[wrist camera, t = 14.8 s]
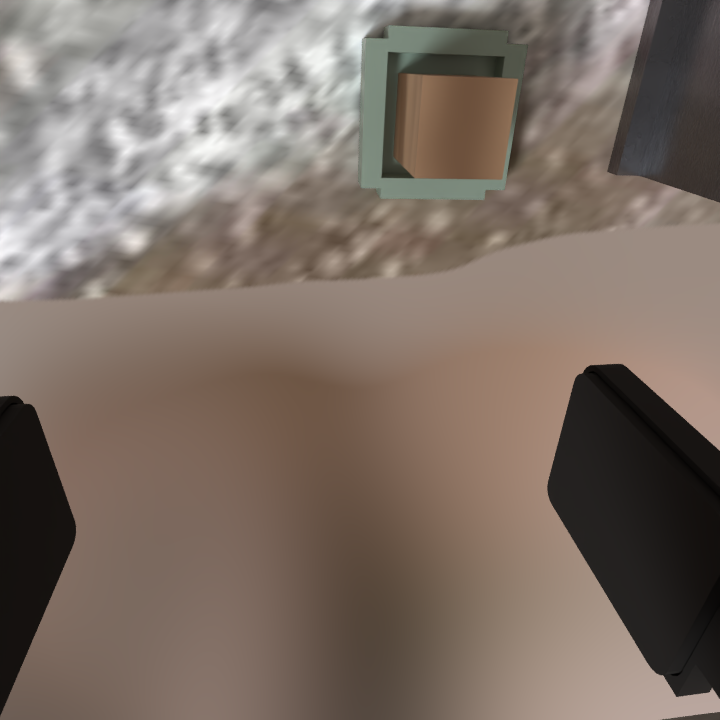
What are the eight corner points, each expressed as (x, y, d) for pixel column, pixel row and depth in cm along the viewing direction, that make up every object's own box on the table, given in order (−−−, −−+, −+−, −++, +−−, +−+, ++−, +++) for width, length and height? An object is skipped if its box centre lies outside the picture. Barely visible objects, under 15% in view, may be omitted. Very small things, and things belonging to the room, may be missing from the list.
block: (393, 156, 32) (414, 178, 26) (398, 72, 30) (422, 75, 24) (464, 157, 33) (502, 179, 27) (474, 75, 30) (518, 78, 24)
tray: (357, 191, 34) (360, 198, 32) (362, 26, 29) (366, 24, 27) (492, 192, 34) (502, 199, 33) (516, 33, 30) (530, 31, 28)
